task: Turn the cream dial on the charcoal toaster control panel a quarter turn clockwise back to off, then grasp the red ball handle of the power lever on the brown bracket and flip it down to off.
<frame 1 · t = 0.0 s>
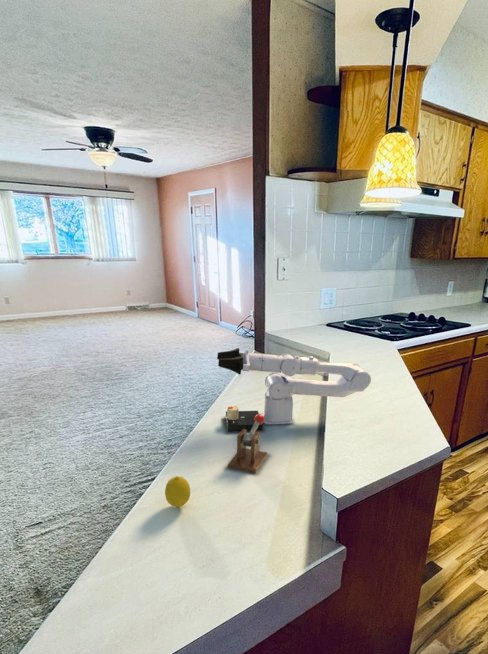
hand: (218, 359, 129), 22 cm above the counter, tool horizontal, fingers open, 7 cm apart
control panel: (243, 424, 136), on the counter
switch bracket: (248, 461, 114), on the counter
dial: (232, 412, 134), point 4 cm above the counter, hinge at 0.0°
power lever: (254, 429, 115), point 8 cm above the counter, hinge at 15.0°
lemon: (178, 507, 94), on the counter
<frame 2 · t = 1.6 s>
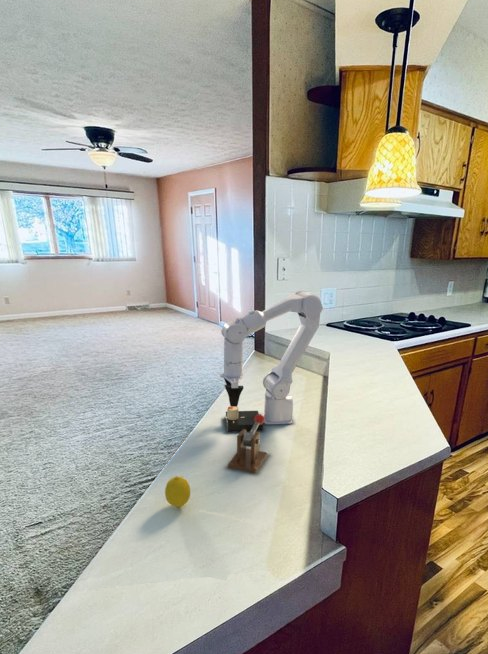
hand: (232, 401, 132), 8 cm above the counter, tool pointing down, fingers open, 7 cm apart
nothing on the counter moved.
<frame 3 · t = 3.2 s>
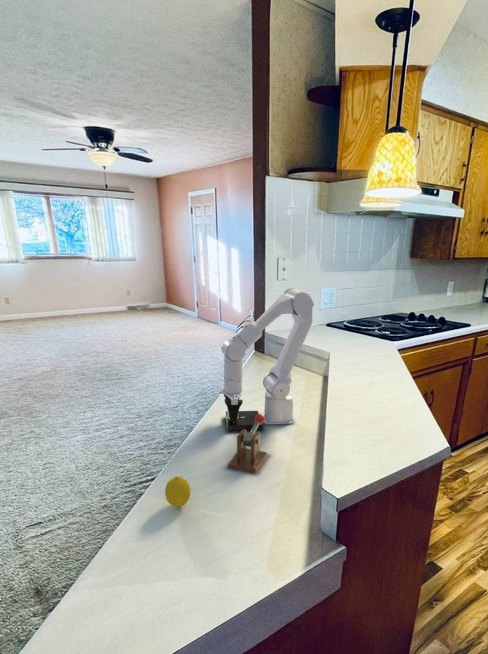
hand: (232, 416, 134), 3 cm above the counter, tool pointing down, fingers closed on dial, 3 cm apart
dial: (232, 412, 134), point 4 cm above the counter, hinge at -0.1°, touching gripper
everything else where it was.
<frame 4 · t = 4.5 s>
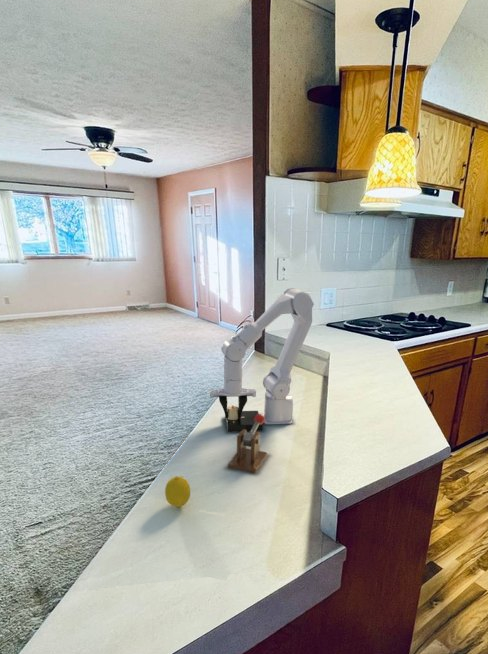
hand: (232, 416, 134), 3 cm above the counter, tool pointing down, fingers closed on dial, 4 cm apart
dial: (232, 412, 134), point 4 cm above the counter, hinge at -89.7°, touching gripper
everything else where it was.
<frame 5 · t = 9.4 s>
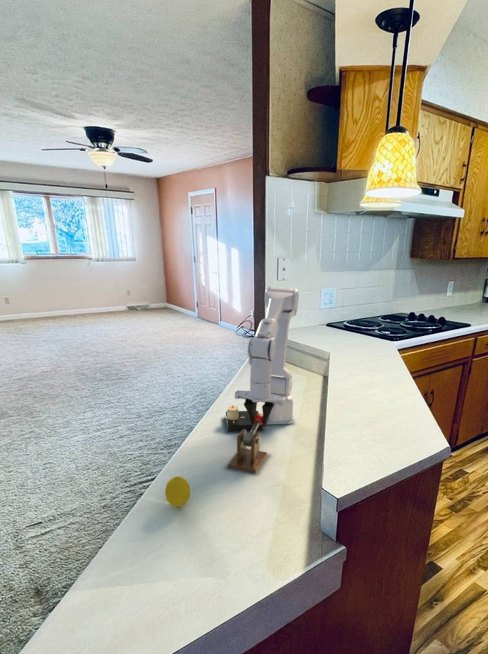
hand: (259, 424, 119), 8 cm above the counter, tool pointing down, fingers closed on power lever, 3 cm apart
dial: (232, 412, 134), point 4 cm above the counter, hinge at -89.7°
power lever: (254, 429, 115), point 8 cm above the counter, hinge at 15.0°, touching gripper
everything else where it was.
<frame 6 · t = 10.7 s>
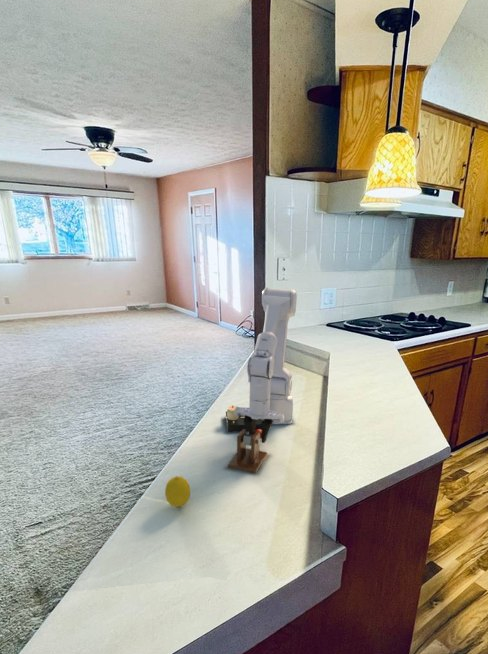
hand: (258, 440, 121), 3 cm above the counter, tool pointing down, fingers closed on power lever, 3 cm apart
power lever: (253, 436, 116), point 6 cm above the counter, hinge at -16.0°, touching gripper
everything else where it was.
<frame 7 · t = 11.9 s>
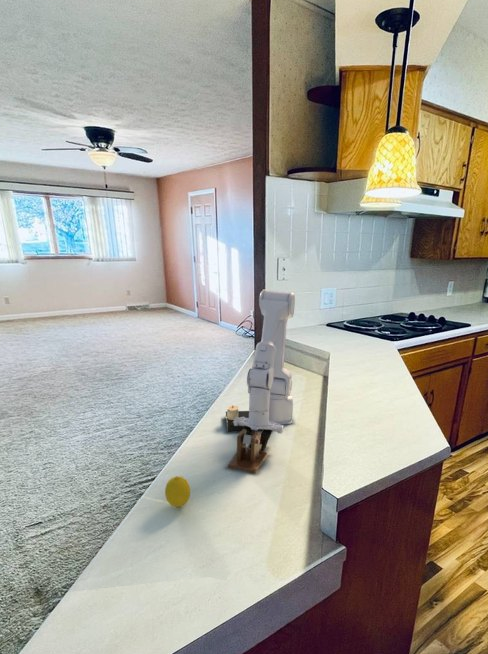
hand: (257, 450, 122), 0 cm above the counter, tool pointing down, fingers closed on power lever, 3 cm apart
power lever: (253, 440, 116), point 5 cm above the counter, hinge at -27.5°, touching gripper
everything else where it was.
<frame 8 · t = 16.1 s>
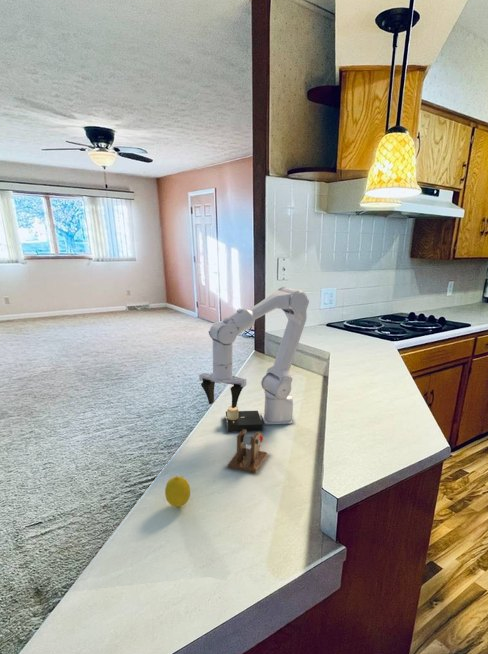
hand: (222, 404, 127), 9 cm above the counter, tool pointing down, fingers open, 7 cm apart
power lever: (253, 438, 116), point 5 cm above the counter, hinge at -23.3°
everything else where it was.
at the end: dial at -90° (first picture: +0°); power lever at -23° (first picture: +15°) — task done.
